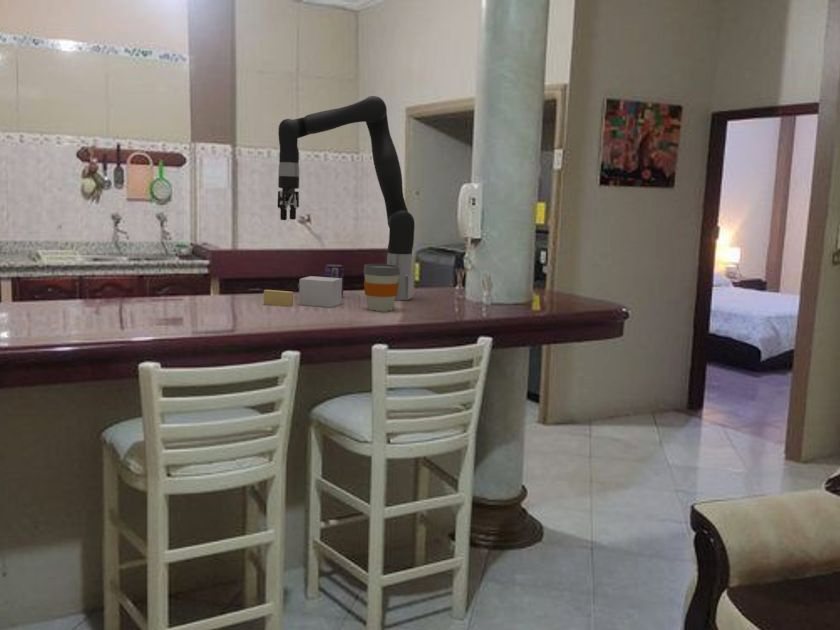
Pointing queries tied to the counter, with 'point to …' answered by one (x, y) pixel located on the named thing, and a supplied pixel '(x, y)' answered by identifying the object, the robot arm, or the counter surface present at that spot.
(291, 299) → the yellow sponge block
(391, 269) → the reusable coffee cup
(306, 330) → the counter surface
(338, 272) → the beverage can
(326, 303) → the light grey block
